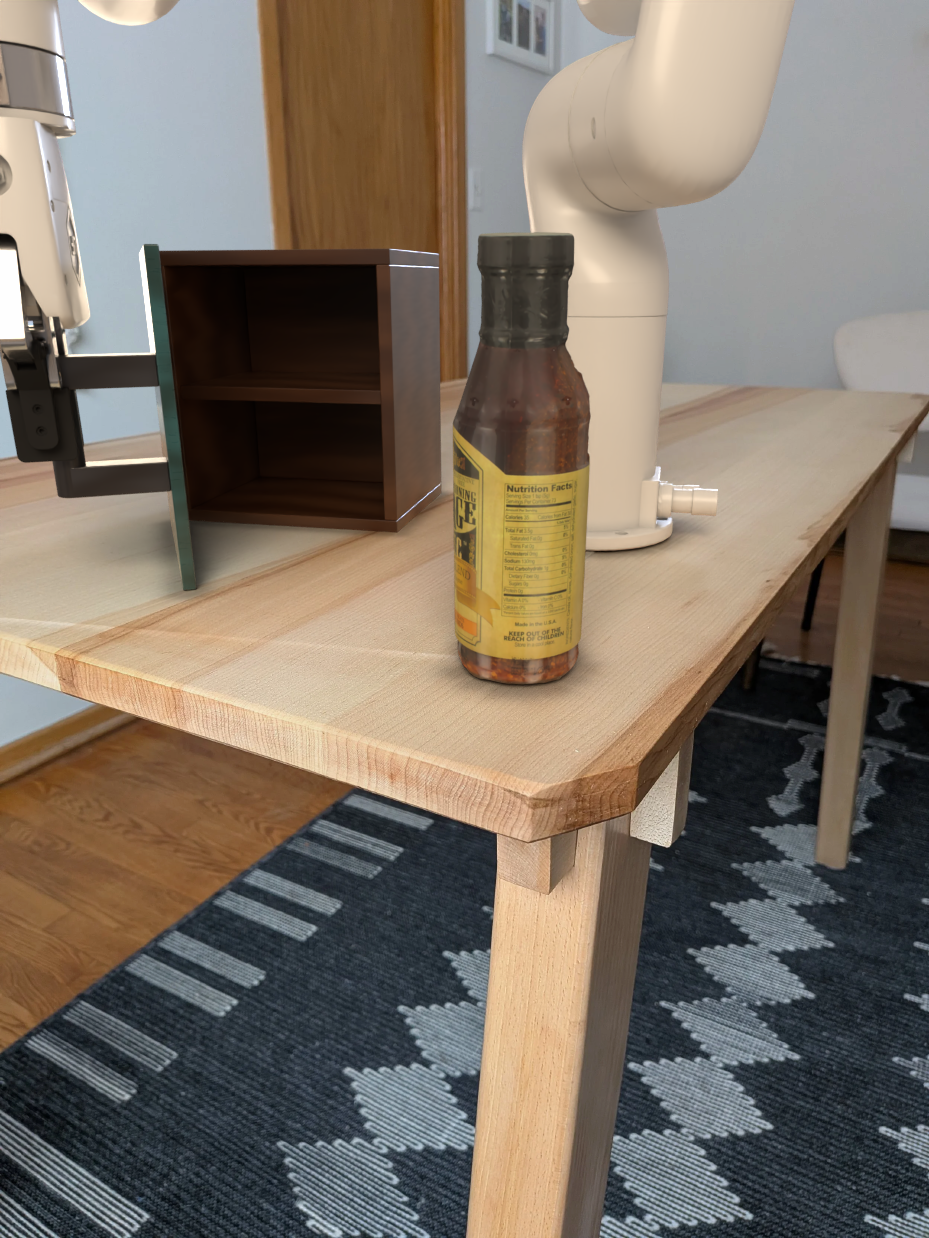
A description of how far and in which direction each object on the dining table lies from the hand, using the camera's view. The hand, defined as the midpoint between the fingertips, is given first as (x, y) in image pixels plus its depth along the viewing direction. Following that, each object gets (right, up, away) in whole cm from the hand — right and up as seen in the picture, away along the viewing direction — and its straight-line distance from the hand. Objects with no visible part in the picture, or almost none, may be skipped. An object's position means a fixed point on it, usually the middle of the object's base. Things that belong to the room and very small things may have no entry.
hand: (52, 454), depth 53 cm
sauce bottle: (+27, -12, -8) cm, 30 cm away
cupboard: (+12, 0, +24) cm, 27 cm away
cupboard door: (+1, -5, +10) cm, 11 cm away
